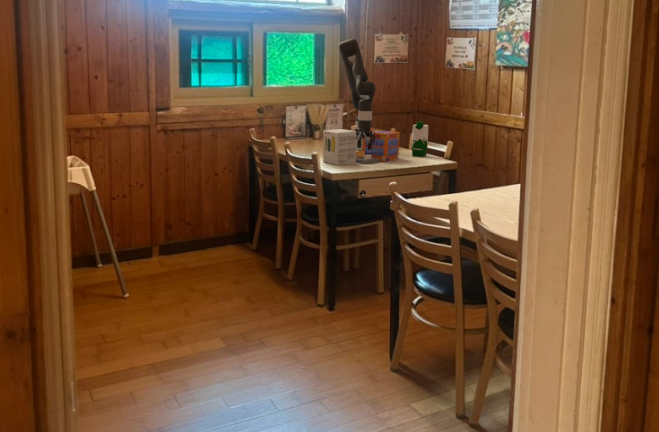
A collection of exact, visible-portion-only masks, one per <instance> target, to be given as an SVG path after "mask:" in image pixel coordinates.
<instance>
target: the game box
mask: <svg viewBox="0 0 659 432" xmlns="http://www.w3.org/2000/svg"><path fill="white" fill-rule="evenodd" d="M373 131H375V142H372V149H371V150H368V141H367V140H366V139H365V138H363V144H362V145H363V146H362V150H361V151H364V153H365V155H371V157H372V158H378V159H379V162H381V163H382V162H386V163H387V162H390V161H394V160H398V159H399V158H400V157H399V156H400V155H399V154H400V138H401V137H400V135H401V132H400V131H389V130H377V129H376V130H373ZM372 140H373V137H372ZM369 141H370V140H369Z"/></svg>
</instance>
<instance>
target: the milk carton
mask: <svg viewBox="0 0 659 432" xmlns="http://www.w3.org/2000/svg"><path fill="white" fill-rule="evenodd" d="M411 131H412V132H411V136H412V137H411V157H418V158H419V157H420V158H425V157H426V156H427V152H428V145H429V143H428V142H429V140H428V138H429V125H428V124H424V121H416V124H414V125H412V130H411Z"/></svg>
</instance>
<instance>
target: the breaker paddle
mask: <svg viewBox="0 0 659 432" xmlns="http://www.w3.org/2000/svg"><path fill="white" fill-rule="evenodd" d="M364 155H365V153H364V151H362V150H356V157H364Z"/></svg>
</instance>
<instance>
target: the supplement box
mask: <svg viewBox="0 0 659 432" xmlns="http://www.w3.org/2000/svg"><path fill="white" fill-rule="evenodd" d="M322 132H323V134H322V135H323V136H322V140H323V142H322V147H323V148H322V150H323V153H322V154H323V155H322V162H323V163H325V162H327V163H326V164H330V163H331V165H335V166H341V165H351V164H357V163H356V152H357V150H356V131H351V129H350V130H348V129H343V128H340V129H339V128H338V129H326V130H323V131H322Z"/></svg>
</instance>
